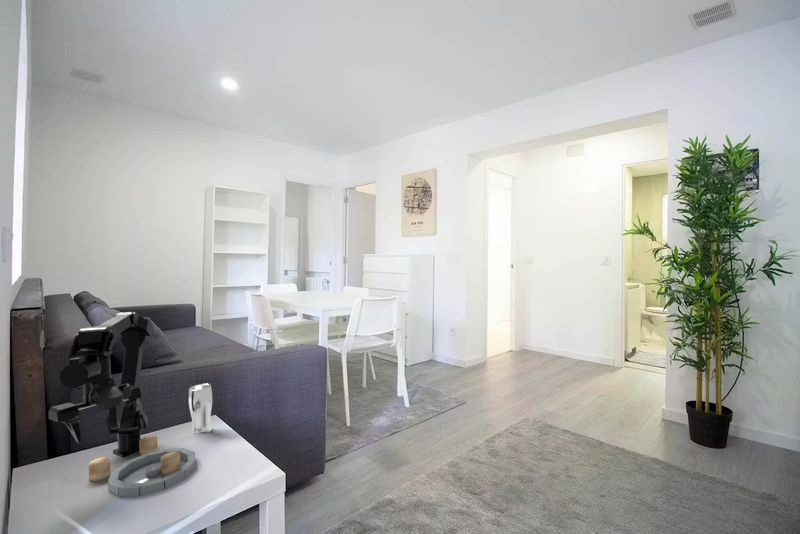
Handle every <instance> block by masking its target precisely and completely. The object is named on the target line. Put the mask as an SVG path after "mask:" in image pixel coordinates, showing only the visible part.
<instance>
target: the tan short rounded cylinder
mask: <svg viewBox="0 0 800 534" xmlns="http://www.w3.org/2000/svg"><path fill="white" fill-rule="evenodd" d="M180 468H181V461H180V453H179V452H171V453H167V454H165V455H163V456H162V457H161V478H163V477H165V476H167V475H169V474H172V473H174V472H176V471H178V470H179V469H180Z"/></svg>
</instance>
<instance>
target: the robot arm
mask: <svg viewBox="0 0 800 534" xmlns="http://www.w3.org/2000/svg"><path fill="white" fill-rule="evenodd" d="M153 334H154V326H153V324H152V323H151V321H150V319H146V318H144V317H143V316H140V315H139V313H138V312H135V311H126V312H123V311H121V312H119V313H116V314H115V315H114V316H113V317H111V318H110V319H108V320H106V321H105V322H103V323H101V324H99V325H95V326H87V327H83V328H80V329H79V330H78V332H77V333H76V335H75V337H74V339H73V343H72V345H71V348H70V352H69V353H68V356H67V357H68V359H69V360H68V365H66V366H65V367H64V368H63V369H62V370H61V372H60V374H59V380H60V383H61V384H62V385H63V386H65V387H66V388H69V389H70V388H71V389H77V388H80V387H82V386H83V395H82V396H81V400H82V401H83V402H80V403H76V404H75V403H73V402H65V403H62V404H59V405H55V406H51V407H50V408H49V410H48V420H51V421H52V422H56V423H57V424H58V423H59V424H60V423H61V424H64V425H65V426H66V427H67V429H68V430H69V431H70V433H71V435H72V437H73V438H74V440H75V441H76V442H77V443H78V444H80V443H81V442H82V441H81V440H82V436H81V428H80V421H81V417H79V416H78V415H79V413H80V412H82V411H86V410H89V409H92V408H93V409H94V408H95V407H98V408H99V410H101V411H108V415H107V417H106V420H105V421H106V422H105V423H106V427H107V431H108V434H109V436H111V435H116V436H117V448H115V449H113V450H112V453H114V454H116V455H118V456H120V457H122V458H123V457H127V456H128V455H131V454H134V453H136V452H140V445H139V440H140V439H142V438H141V437H142V436H141V432H142V431H143V430H145V429H148V420H149V418H148V416H147V415H146V413H145V412H144V411H143V405H142V402H141V401H140V399H141V398H143V390H142V388H141V387H140V379H141V372H142V370H141V369H142V362H143V354H144V350H145V349H146V348H147V347H148V345H149V344H150V343H151V340H152V336H153ZM117 336H119V337H120V343H121V344H122V346H123V348H124V355H123V356H124V358H123V362H122V363H123V364H122V365H123V366H122V372H121V376H120V384H119V385H117V386H116V383H115V379H114V377H112V370H111V369H112V366H111V365H112V364H111V355H112V354H113V352H114V351H113V350H112V349H113V347H114V344H115V343H116V342H117Z"/></svg>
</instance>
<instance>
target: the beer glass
mask: <svg viewBox="0 0 800 534" xmlns="http://www.w3.org/2000/svg"><path fill="white" fill-rule="evenodd" d="M188 407H189V412H190V413H189V414H190V416H191V420H192V421H191V422H192V428H191V433H195V434H196V433H204V432H206V433H208V434H209V433H210V432H212V430H213V426H212V422H211V415H212V414H211V413H212V407H213V391H212V385H211V384H210V383H202V384H195V385H192V386H190V387H189V388H188Z"/></svg>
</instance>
